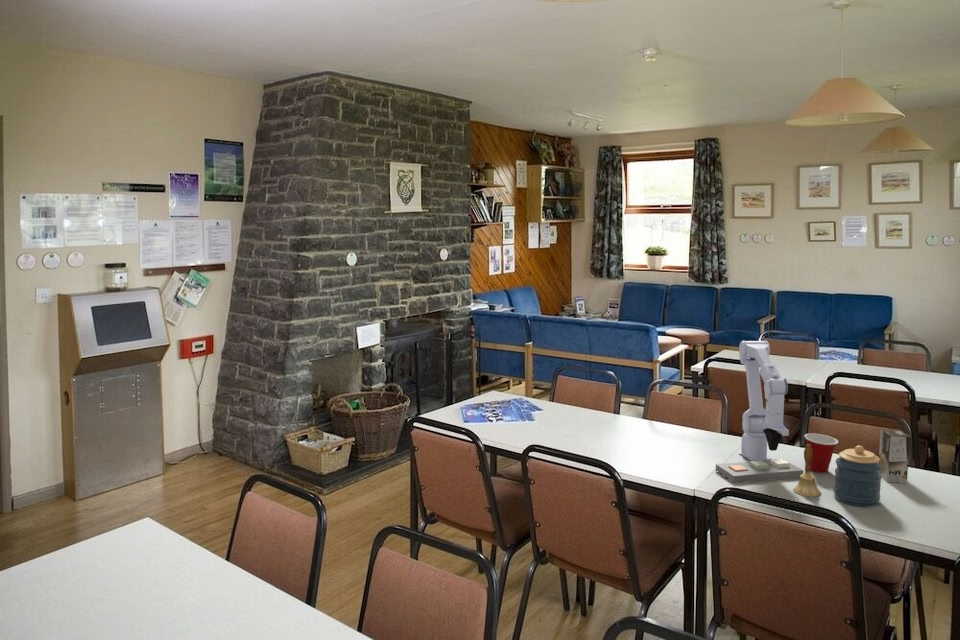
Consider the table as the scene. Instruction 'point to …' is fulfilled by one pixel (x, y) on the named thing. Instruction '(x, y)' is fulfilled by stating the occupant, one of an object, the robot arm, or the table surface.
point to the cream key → (779, 463)
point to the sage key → (759, 465)
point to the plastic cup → (821, 451)
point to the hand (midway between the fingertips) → (772, 449)
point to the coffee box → (894, 455)
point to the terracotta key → (737, 468)
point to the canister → (858, 477)
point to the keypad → (758, 472)
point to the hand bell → (807, 477)
